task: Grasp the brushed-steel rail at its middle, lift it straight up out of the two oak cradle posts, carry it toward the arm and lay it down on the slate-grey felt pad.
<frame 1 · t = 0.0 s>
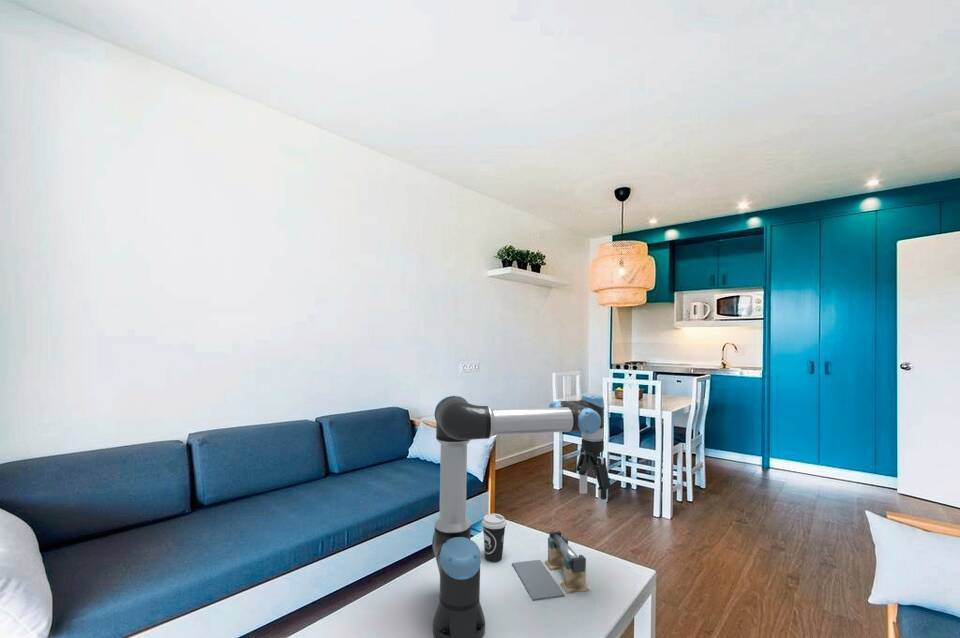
hand: (592, 500, 147), 28 cm above the table, fingers open, 13 cm apart
rail: (565, 556, 150), point 7 cm above the table, touching post far, post near
pad: (536, 579, 148), on the table
post near: (574, 587, 143), on the table
post far: (557, 565, 157), on the table
coffee cup: (493, 558, 162), on the table
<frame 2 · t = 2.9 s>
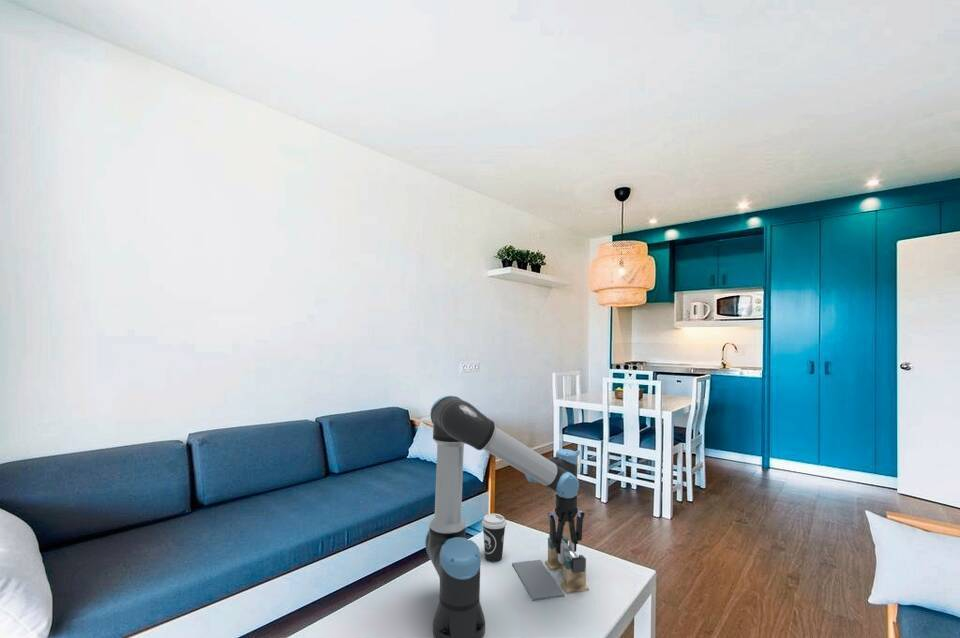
hand: (565, 561, 150), 5 cm above the table, fingers closed on rail, 4 cm apart
rail: (565, 556, 150), point 7 cm above the table, touching gripper, post far, post near
everything else where it was.
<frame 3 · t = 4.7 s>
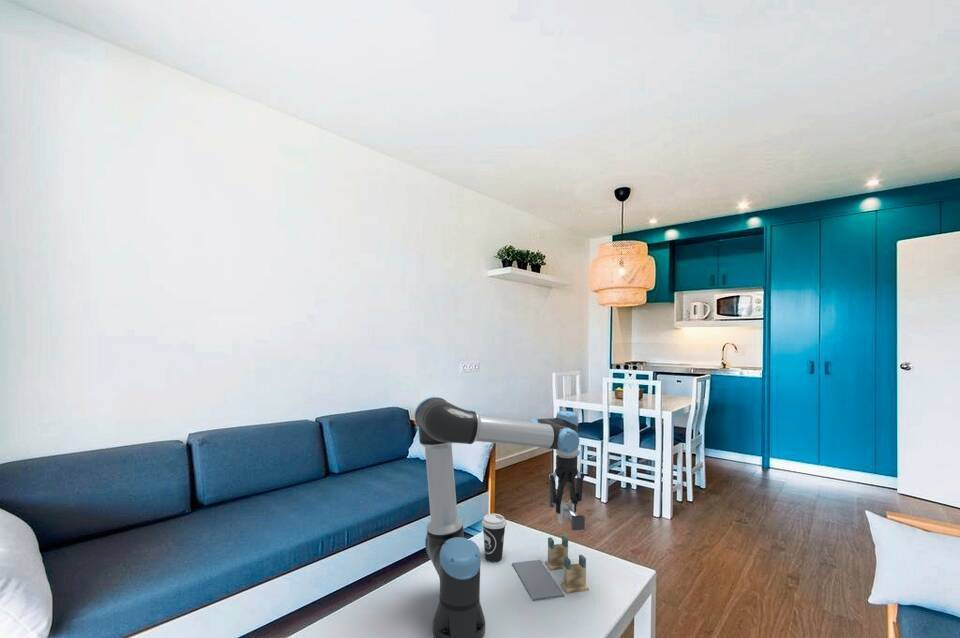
hand: (565, 521, 151), 19 cm above the table, fingers closed on rail, 4 cm apart
rail: (565, 517, 151), point 21 cm above the table, touching gripper
everything else where it was.
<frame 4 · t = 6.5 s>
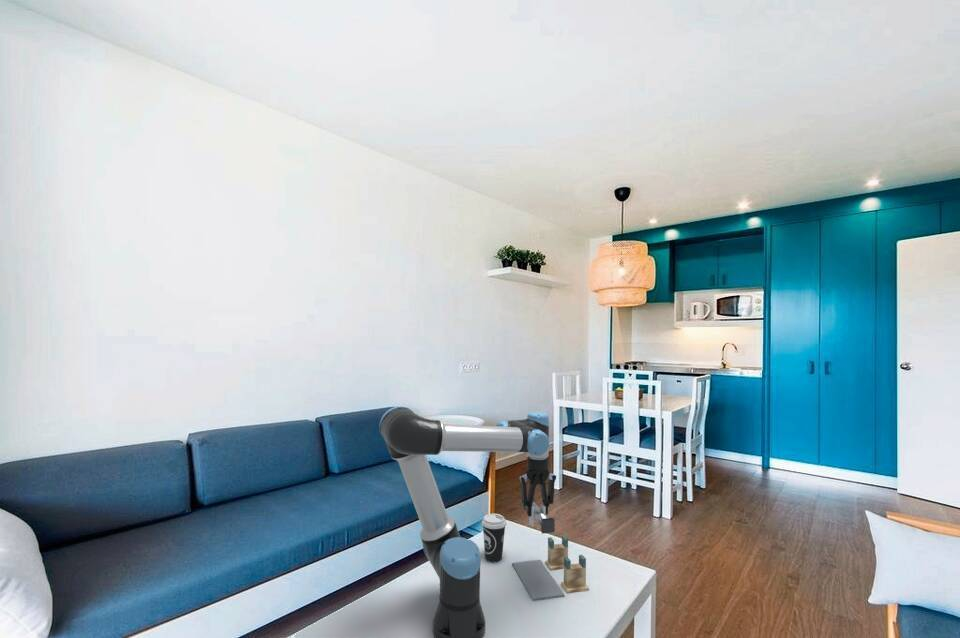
hand: (537, 524, 148), 19 cm above the table, fingers closed on rail, 4 cm apart
rail: (537, 519, 148), point 21 cm above the table, touching gripper
everything else where it was.
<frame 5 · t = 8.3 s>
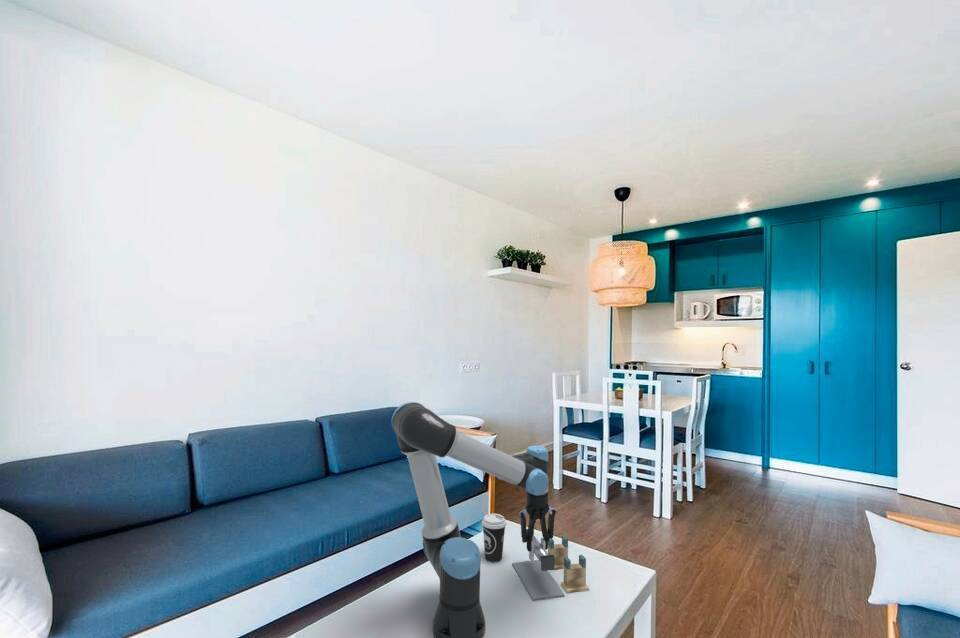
hand: (537, 559, 148), 7 cm above the table, fingers closed on rail, 4 cm apart
rail: (537, 554, 148), point 9 cm above the table, touching gripper
everything else where it was.
when the fingers open (2 cm above the table, at t = 10.1 s): rail drops 3 cm, resting on pad.
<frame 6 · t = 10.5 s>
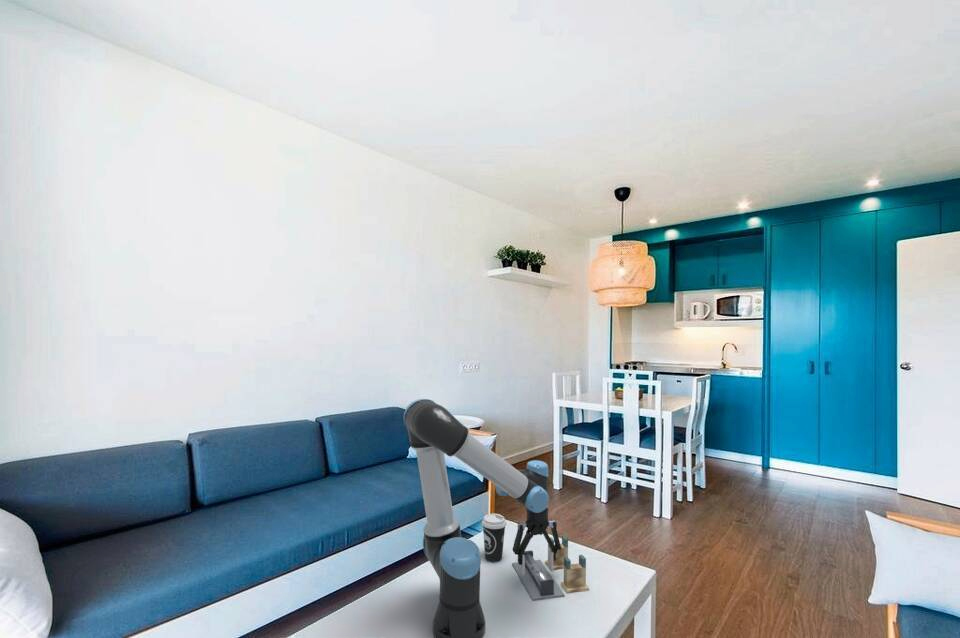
hand: (536, 571, 148), 3 cm above the table, fingers open, 10 cm apart
rail: (536, 577, 148), point 1 cm above the table, touching pad
everything else where it was.
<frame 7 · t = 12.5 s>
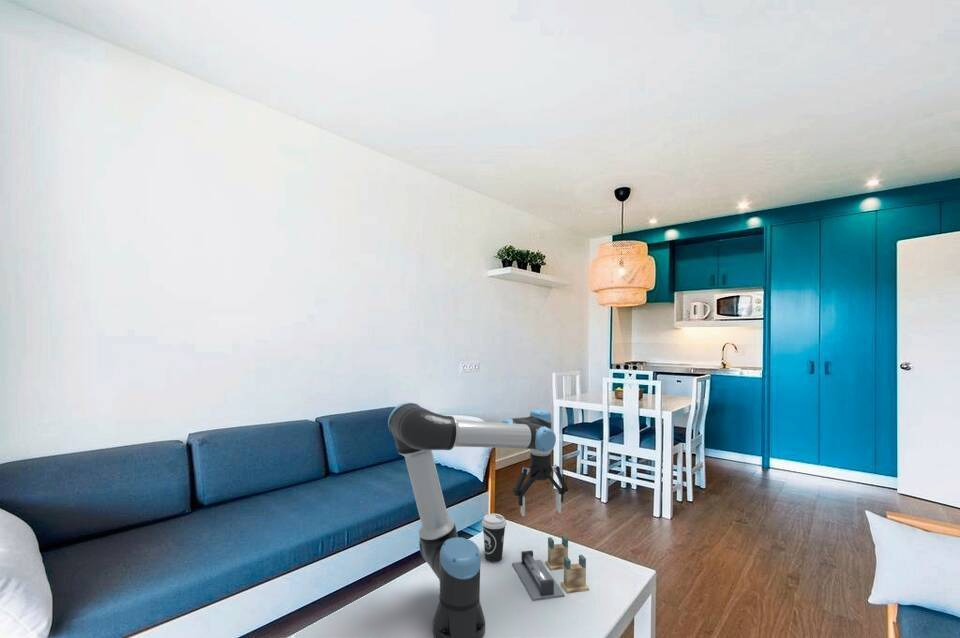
hand: (540, 513, 152), 21 cm above the table, fingers open, 13 cm apart
nothing on the table moved.
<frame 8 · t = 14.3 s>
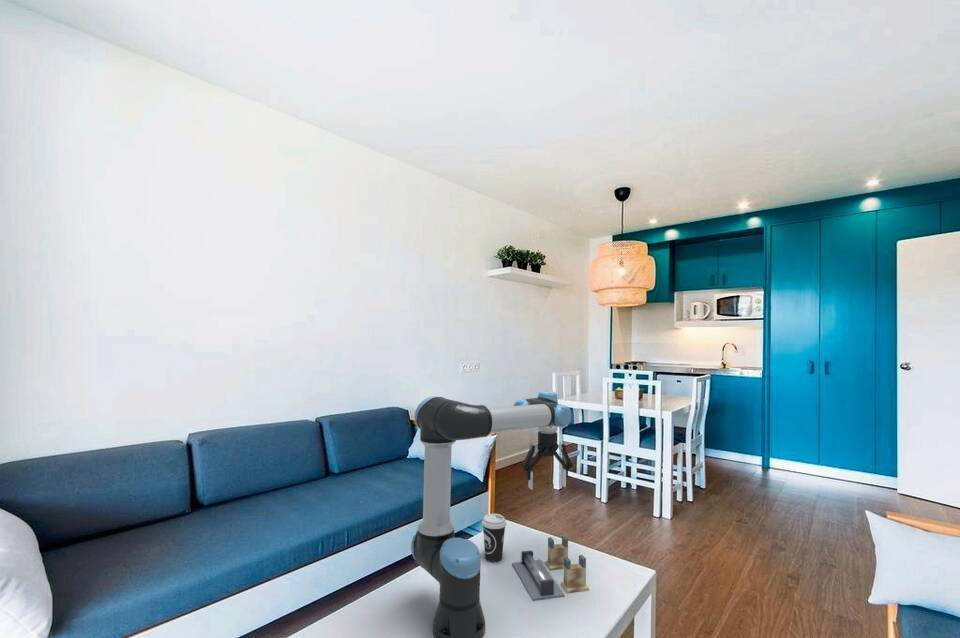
hand: (547, 487, 163), 27 cm above the table, fingers open, 13 cm apart
nothing on the table moved.
at the end: rail inside the target area on the pad (0.1 cm from its centre), point 0.6 cm above the pad's base; rail point 0.6 cm above the table; the gripper is holding nothing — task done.
